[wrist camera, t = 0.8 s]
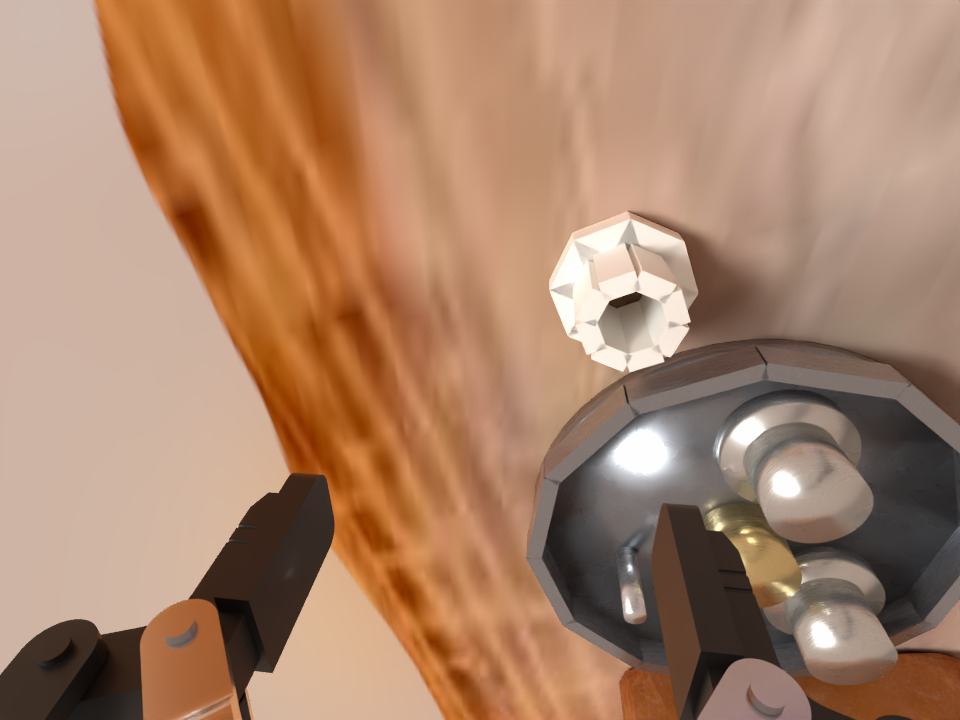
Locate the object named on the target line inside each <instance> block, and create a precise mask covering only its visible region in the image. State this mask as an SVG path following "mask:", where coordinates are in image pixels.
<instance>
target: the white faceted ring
mask: <svg viewBox="0 0 960 720" xmlns="http://www.w3.org/2000/svg"><path fill="white" fill-rule="evenodd" d="M549 290H550V293H551V295H552V298H553V300H554V303H555V305H556V308H557V310H558V313H559V315H560V318H561V320H562V323H563V325H564V328H565V330H566V333H567V335H568V337H571V338H573V339H576V340H578V341H581V342H582V344H583V346H584V349H585V351H586V354H587V355H588V354H591V359H592V360H594V361H597V362H599V363H602V364H604V365H607V366H609V367H612V368H614V369H617V370H619V371H622V372H623V371H624V369H625V368H626V366H627V365H628V368H629V371H630V372H632V371H636V370H639V369H642V368H646V367H649V366H652V365H656V364H659V363H662V362H664V359H663V355H665V356H668V357H670V358H671V356H672V355H673V353H674V352H675V350H676V349H677V347H678V346H679V344H680V342H681V341H682V339H683V338H684V336H685V335H686V333H687V332H688V330H689V329H690V328H689V326H688V324H687V323H689V322H691V321H690V317H689V314H688V309H689V307H690V306H691V304H692V303H693V301H694V300H695V298H696V297H697V295H698V289H697V285H696V282H695V278H694V275H693V271H692V267H691V264H690V260H689V257H688V253H687V249H686V246H685V242H684V240H683V239H682V237H681V236H680V234H679V233H677V232H675V231H672V230H670V229H668V228H665V227H663V226H661V225H658V224H656V223H654V222H651V221H649V220H647V219H644V218H642V217H640V216H637V215H635V214H633V213H630V212H628V211H627V212H624V213H621V214H619V215H616V216H614V217H611V218H608V219H606V220H603V221H601V222H598V223H595V224H593V225H590V226H588V227H585V228H582V229H580V230H577V231H575V232H573V233H572V235H571V237H570V239H569V241H568V243H567V245H566V247H565V249H564V251H563V253H562V255H561V258H560V260H559V262H558V264H557V266H556V268H555V270H554V272H553V274H552V276H551V278H550V280H549ZM634 292H638V293H641V294H643V295H642V296H641V298H640V300H639V301H637V302H634V303H631V304H628V305H625V306H622V307H619V308H615V307H613V306H610V305H608V303H609V301H610V300H613V299H616V298H619V297H622V296H625V295H628V294H631V293H634ZM662 354H663V355H662Z"/></svg>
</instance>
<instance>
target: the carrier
mask: <svg viewBox="0 0 960 720" xmlns="http://www.w3.org/2000/svg"><path fill="white" fill-rule="evenodd" d="M663 503H670V504H683V505H696V506H698V507H699V509H700V512H701V515H702V518H703V522H704V525H705V528H706V530H711V531H723V533H724V534H725V535H726V536H727V537H728V539H729V540H730V541H731V542H732V543H733V544H734V546H735V547H736V548H737V549H738V550H739V553H740V555H741V558H742V561H743V564H744V566H745V569H746V575H747V576H748V578H749V580H750V583H751V586H752V589H753V594H755V597H756V600H757V603H758V606H759V608H760V611H761V614H762V617H763V620H764V622H765V625H766V628H767V631H768V634H769V636H770V639H771V642H772V645H773V647H774V650H775V653H776V656H777V659H778V661H779V663H780V666H781V667H782V669H783V671H785V672H786V673H788V674H789V675H790V676H791V677H792V678H793V679H795V678H803V677H811V676H814V677H815V678H817V679H819V680H821V681H823V682H826V683H830V684H835V685H859V684H864V683H868V682H872V681H874V680H877V679H879V678H881V677H883V676H885V675H886V674H888V673H889V672H890V671H891V670H892V669H893V668H894V667H895V665H896V663H897V660H898V654H897V651H896V649H895V646H897V645H899V644H901V643H903V642H905V641H908V640H910V639H912V638H914V637H916V636H918V635H920V634H922V633H925V632H927V631H929V630H931V629H933V628H935V626H938V624H939V623H940V622H941V621H942V620H943V618H944V617H945V616H946V615H947V614H948V612H949V611H950V610H951V609H952V608H953V606H954V605H955V604H956V603H957V602H958V600H959V599H960V424H958V423H957V422H956V421H955V420H954V419H953V418H951V417H950V416H949V415H948V414H947V413H946V412H944V411H943V410H942V409H941V408H940V407H939V406H937V405H936V404H935V403H934V402H933V401H932V400H931V399H930V398H928V397H927V396H926V395H925V394H924V393H923V392H922V391H921V390H920V389H919V388H918V387H916V386H915V385H914V384H912V383H911V382H910V381H908V380H907V379H906V378H905V377H904V376H903V375H901V374H900V373H899V372H898V371H897V370H896V369H894V368H893V367H892V366H891V365H889V364H882V363H878V362H876V361H874V360H872V359H870V358H868V357H865V356H862V355H859V354H856V353H853V352H850V351H848V350H845V349H842V348H837V347H832V346H828V345H823V344H818V343H813V342H805V341H794V340H782V339H766V340H742V341H734V342H727V343H719V344H712V345H708V346H704V347H700V348H696V349H692V350H688V351H684V352H680V353H677V354H675V355H672V356H671V358H670V357H666V358H664V362H662V363H659V364H656V365H652V366H649V367H646V368H642V369H639V370H636V371H634V372H632V373H630V374H628V375H626V376H624V377H623V378H621V379H619V380H618V381H616V382H615V383H613V384H612V385H610V386H609V387H607V388H605V389H604V390H602V391H601V392H600V393H598V394H597V395H596V396H595V397H594V398H592V399H591V400H590V401H589V402H588V403H586V404H585V405H584V406H583V407H582V408H580V410H579V411H578V412H577V413H576V414H575V415H574V416H573V417H572V418H571V419H570V420H569V421H568V423H567V424H566V425H565V426H564V427H563V429H562V430H561V431H560V433H559V434H558V436H557V437H556V439H555V440H554V441H553V443H552V444H551V446H550V448H549V450H548V452H547V454H546V456H545V458H544V460H543V463H542V465H541V468H540V472H539V475H538V478H537V482H536V487H535V496H534V507H533V512H532V517H531V522H530V526H529V531H528V537H527V556H526V558H527V561H528V563H529V564H530V566H531V568H532V570H533V572H534V574H535V576H536V577H537V579H538V581H539V583H540V585H541V587H542V588H543V590H544V592H545V594H546V596H547V598H548V599H549V601H550V603H551V605H552V607H553V609H554V610H555V612H556V614H557V616H558V618H559V620H560V621H561V623H562V625H563V626H564V627H566V628H568V629H569V630H571V631H573V632H575V633H576V634H578V635H580V636H581V637H583V638H585V639H586V640H588V641H590V642H591V643H593V644H595V645H596V646H598V647H600V648H601V649H603V650H605V651H606V652H608V653H610V654H611V655H613V656H615V657H616V658H618V659H620V660H622V661H623V662H625V663H627V664H628V665H630V666H632V667H633V668H635V669H637V670H643V671H648V672H654V673H660V674H665V675H670V674H669V668H668V662H667V657H666V651H665V645H664V640H663V634H662V628H661V623H660V617H659V611H658V606H657V600H656V594H655V589H654V583H653V577H652V549H653V544H654V539H655V534H656V529H657V524H658V519H659V514H660V510H661V506H662V504H663Z"/></svg>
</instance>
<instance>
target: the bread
mask: <svg viewBox="0 0 960 720" xmlns="http://www.w3.org/2000/svg"><path fill="white" fill-rule="evenodd" d="M794 680H795V681H796V682H797V683H798V685H799V686H800V687H801V689H802V690H803V691H804V693H805V695H807V696H808V697H809V698H811V699H812V700H814V701H815V702H817V703H819V704H820V705H823V706H825V707H827V708H829V709H831V710H834V711H836V712H839V713H841V714H843V715H846V716H848V717H851V718H853V719H856V720H876V719H877V718H879V717H881V716H884V715H899V716H903V717H908V718H910V719H913V720H960V659H958V658H955V657H951V656H947V655H944V654H940V653H903V654H898V660H897V663H896V665H895V667H894V668H893V669H892V670H891V671H890V672H889V673H888V674H886V675H885V676H883V677H881V678H879V679H877V680H874V681H872V682H868V683H864V684H859V685H835V684H830V683H826V682H823V681H821V680H819V679H817V678H815V677H814V676H811V677H803V678H795V679H794ZM619 684H620V693H621V701H622V709H623V717H624V720H678V719H677V713H676V707H675V702H674V696H673V691H672V685H671V679H670V675H665V674H660V673H654V672H648V671H643V670H637V669H632V670H629V671H625V673H624V675H623V677H622V679H621V681H620V683H619Z"/></svg>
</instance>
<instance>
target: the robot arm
mask: <svg viewBox="0 0 960 720" xmlns="http://www.w3.org/2000/svg"><path fill="white" fill-rule="evenodd" d="M334 525H335V524H334V516H333V510H332V505H331V500H330V495H329V490H328V484H327V480H326V477H325V476H324V475H316V474H303V473H292V474H291V475H290V476H289V477H288V479H287V480H286V482H285V484H284V485H283V487H282V489H281V490H280V492H279V493H268V494H266V495H265V496H264V497H263V498H261V499H260V500H259V501H258V502H256V503H255V504H254V505H253V506H251V507H250V509H249V510H248V512H247V513H246V515H245V516H244V518H243V519H242V521H241V522H240V524H239V527H238V528H236V529H235V531H234V533H233V534H232V536H231V537H230V538H229V542H228V543H226V544H225V546H224V547H223V549H222V551H221V552H220V553H219V555H218V556H217V558H216V559H215V561H214V563H213V564H212V565H211V567H210V569H209V570H208V571H207V573H206V574H205V576H204V577H203V579H202V580H201V582H200V583H199V585H198V586H197V588H196V589H195V591H194V592H193V594H192V595H191V596H190V598H189V599H188V600H185V601H181V602H178V603H176V604H174V605H171V606H170V607H168V608H167V609H165V610H163V611H162V612H160V613H159V614H158V615H157V616H156V617H155V618H154V619H153V620H152V621H151V622H150V623H149V624H148V626H144V627H140V628H135V629H129V630H124V631H119V632H114V633H109V634H103V635H101V634H100V633H99V631H98V629H97V627H96V626H95V625H94V624H93V623H92V622H90V621H87V620H82V619H75V620H69V621H65V622H61V623H59V624H56V625H54V626H52V627H50V628H48V629H46V630H44V631H43V632H41V633H40V634H38V635H37V636H36V637H34V638H33V639H32V640H31V641H29V642H28V643H27V644H26V645H25V646H24V647H23V648H22V649H21V651H20V652H19V653H18V654H17V656H16V657H15V658H14V659H13V660H12V661H11V663H10V664H9V665H8V666H7V668H6V669H5V670H4V671H3V672H2V674H1V675H0V720H253V715H252V710H251V705H250V701H249V696H248V692H247V689H246V687H247V685H248V683H249V681H250V679H251V677H252V675H253V672H254V671H260V672H269V673H273V671H274V668H275V666H276V664H277V662H278V660H279V657H280V655H281V653H282V651H283V649H284V647H285V644H286V642H287V640H288V638H289V635H290V634H291V631H292V629H293V627H294V625H295V622H296V620H297V618H298V616H299V614H300V612H301V609H302V607H303V605H304V603H305V600H306V598H307V596H308V594H309V592H310V590H311V587H312V585H313V583H314V581H315V578H316V577H317V574H318V572H319V570H320V568H321V566H322V563H323V561H324V559H325V557H326V555H327V552H328V550H329V548H330V546H331V543H332V540H333V535H334ZM652 577H653V583H654V589H655V594H656V600H657V606H658V611H659V617H660V623H661V628H662V634H663V640H664V645H665V651H666V657H667V662H668V668H669V674H670V679H671V685H672V691H673V696H674V702H675V707H676V713H677V719H678V720H856V719H853V718H851V717H848V716H846V715H843V714H841V713H839V712H836V711H834V710H831V709H829V708H827V707H825V706H823V705H820V704H819V703H817V702H815V701H814V700H812V699H811V698H809V697H808V696H807V695H805V693H804V691H803V690H802V689H801V687H800V686H799V685H798V683H797V682H796V681H795V680H794V679H793V678H792V677H791V676H790V675H789V674H788V673H786V672H785V671H783V669H782V667H781V666H780V663H779V661H778V659H777V656H776V653H775V650H774V647H773V645H772V642H771V639H770V636H769V634H768V631H767V628H766V625H765V622H764V620H763V617H762V614H761V611H760V608H759V606H758V603H757V600H756V597H755V594H753V589H752V586H751V583H750V580H749V578H748V576H747V575H746V569H745V566H744V564H743V561H742V558H741V555H740V553H739V550H738V549H737V548H736V547H735V546H734V544H733V543H732V542H731V541H730V540H729V539H728V537H727V536H726V535H725V534H724V533H723V531H711V530H706V528H705V525H704V522H703V518H702V515H701V512H700V509H699V507H698V506H696V505H683V504H670V503H663V504H662V506H661V510H660V514H659V519H658V524H657V529H656V534H655V539H654V544H653V549H652ZM876 720H913V719H910V718H908V717H903V716H899V715H884V716H881V717H879V718H877V719H876Z"/></svg>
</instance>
